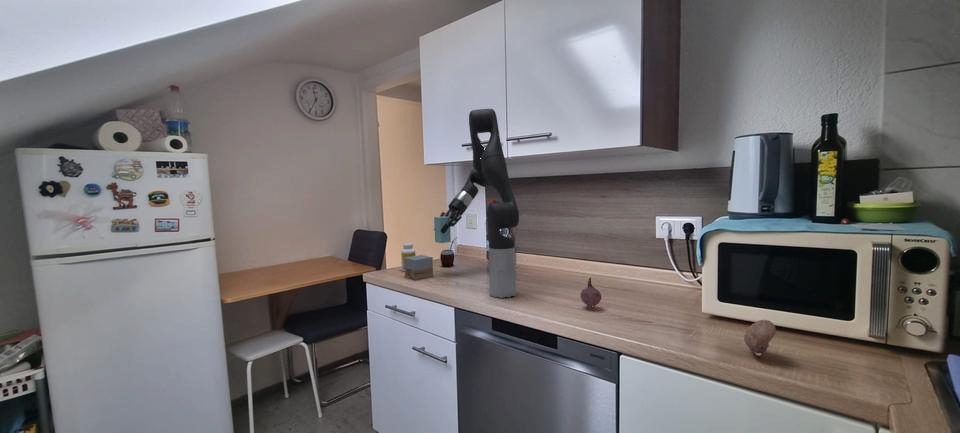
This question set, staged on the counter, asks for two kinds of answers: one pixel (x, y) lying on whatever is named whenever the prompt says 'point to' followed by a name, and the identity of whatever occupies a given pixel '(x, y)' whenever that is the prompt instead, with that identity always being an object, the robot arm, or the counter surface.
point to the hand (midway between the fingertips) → (438, 231)
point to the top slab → (418, 262)
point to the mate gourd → (447, 257)
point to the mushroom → (759, 335)
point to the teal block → (438, 225)
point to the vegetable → (590, 295)
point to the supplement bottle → (407, 253)
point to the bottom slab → (419, 274)
